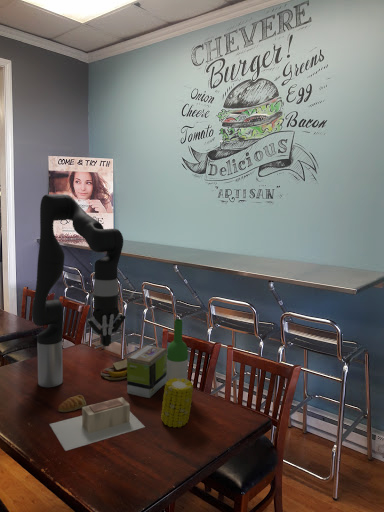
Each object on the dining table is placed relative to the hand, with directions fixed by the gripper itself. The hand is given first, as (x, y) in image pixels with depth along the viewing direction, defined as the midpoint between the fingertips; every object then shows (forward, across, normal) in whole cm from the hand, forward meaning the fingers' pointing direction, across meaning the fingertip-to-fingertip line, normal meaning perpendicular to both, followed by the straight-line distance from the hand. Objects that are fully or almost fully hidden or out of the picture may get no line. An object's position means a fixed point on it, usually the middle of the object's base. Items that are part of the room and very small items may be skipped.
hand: (105, 345), depth 138 cm
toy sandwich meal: (+28, -19, -35) cm, 49 cm away
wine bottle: (+27, -30, -5) cm, 41 cm away
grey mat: (+27, +3, 0) cm, 27 cm away
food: (+27, -21, +10) cm, 36 cm away
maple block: (+24, +7, 0) cm, 25 cm away
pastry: (+28, +6, -16) cm, 32 cm away
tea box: (+27, -24, -17) cm, 40 cm away
